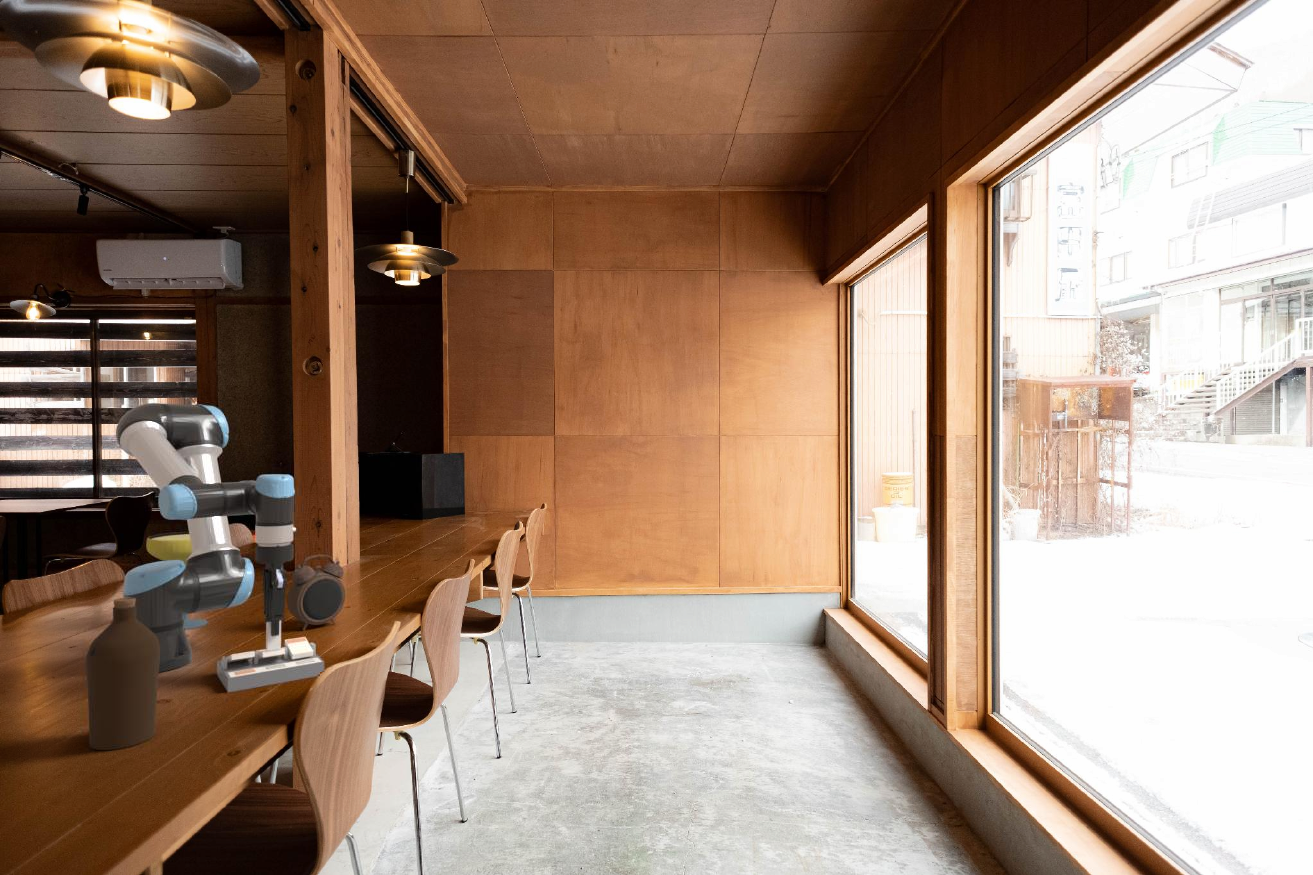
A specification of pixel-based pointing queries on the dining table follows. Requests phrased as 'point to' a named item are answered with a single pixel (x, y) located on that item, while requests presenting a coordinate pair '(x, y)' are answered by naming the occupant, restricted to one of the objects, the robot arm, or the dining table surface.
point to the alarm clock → (316, 593)
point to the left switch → (240, 656)
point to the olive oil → (122, 681)
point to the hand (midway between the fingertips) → (273, 649)
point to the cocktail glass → (174, 558)
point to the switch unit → (267, 670)
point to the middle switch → (270, 652)
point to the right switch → (298, 648)
